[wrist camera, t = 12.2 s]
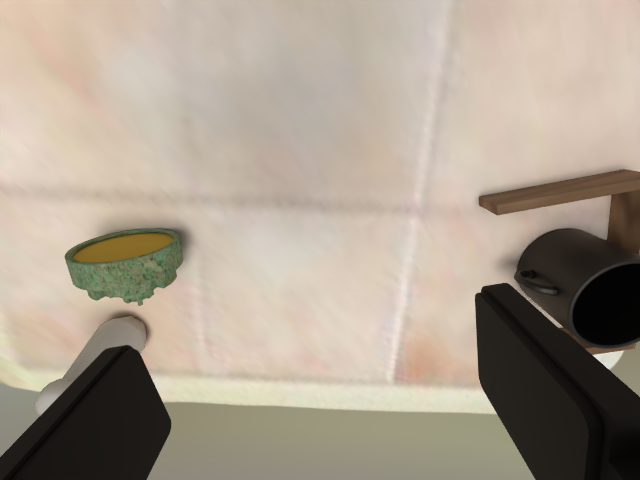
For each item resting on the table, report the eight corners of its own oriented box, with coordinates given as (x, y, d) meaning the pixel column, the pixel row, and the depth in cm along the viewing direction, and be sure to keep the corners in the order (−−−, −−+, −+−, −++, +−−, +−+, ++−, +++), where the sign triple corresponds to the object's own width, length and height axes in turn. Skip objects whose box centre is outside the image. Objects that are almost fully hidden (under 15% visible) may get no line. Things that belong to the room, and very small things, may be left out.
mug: (505, 223, 37) (559, 254, 28) (611, 230, 37) (697, 263, 28) (485, 297, 40) (528, 344, 32) (583, 303, 40) (652, 352, 32)
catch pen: (479, 196, 36) (496, 205, 32) (624, 169, 35) (660, 175, 31) (484, 346, 43) (500, 367, 39) (606, 327, 41) (634, 348, 38)
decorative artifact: (193, 227, 38) (149, 263, 28) (202, 282, 40) (165, 332, 31) (107, 229, 38) (36, 265, 29) (122, 283, 40) (60, 333, 31)
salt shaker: (103, 337, 43) (15, 423, 31) (113, 303, 41) (23, 379, 29) (147, 353, 44) (78, 443, 32) (158, 320, 42) (89, 401, 30)
